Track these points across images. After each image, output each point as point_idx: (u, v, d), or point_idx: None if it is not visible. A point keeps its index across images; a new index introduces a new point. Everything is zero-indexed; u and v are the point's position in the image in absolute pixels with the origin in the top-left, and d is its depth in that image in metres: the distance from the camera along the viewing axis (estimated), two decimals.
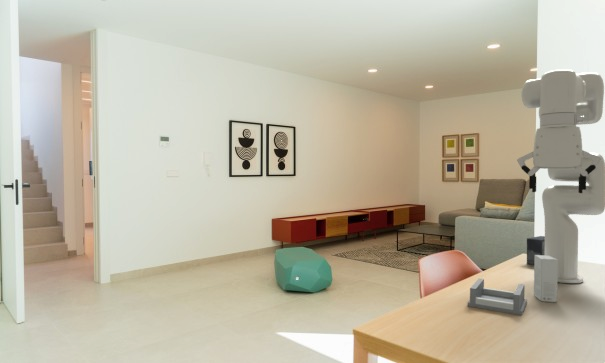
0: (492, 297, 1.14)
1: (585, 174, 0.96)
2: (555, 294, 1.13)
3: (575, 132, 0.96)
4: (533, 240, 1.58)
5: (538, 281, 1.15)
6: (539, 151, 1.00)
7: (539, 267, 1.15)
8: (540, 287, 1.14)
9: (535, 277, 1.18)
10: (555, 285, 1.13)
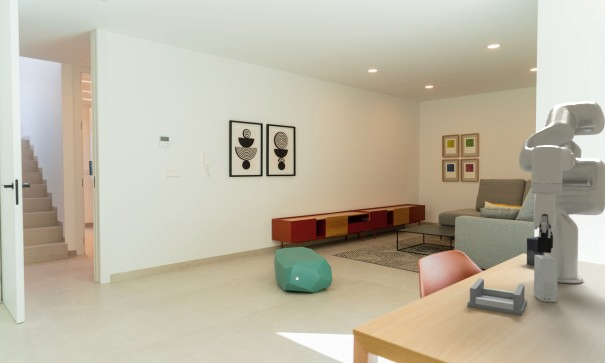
0: (492, 297, 1.14)
1: (551, 232, 1.20)
2: (555, 294, 1.13)
3: None
4: (533, 240, 1.58)
5: (538, 281, 1.15)
6: (554, 216, 1.11)
7: (539, 267, 1.15)
8: (540, 287, 1.14)
9: (535, 277, 1.18)
10: (555, 285, 1.13)
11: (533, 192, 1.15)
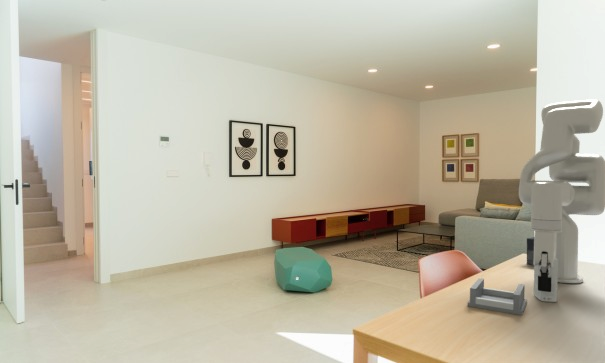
0: (492, 297, 1.14)
1: None
2: (555, 294, 1.13)
3: None
4: (533, 240, 1.58)
5: None
6: (554, 253, 1.12)
7: None
8: None
9: (535, 277, 1.18)
10: (555, 285, 1.13)
11: (533, 228, 1.16)
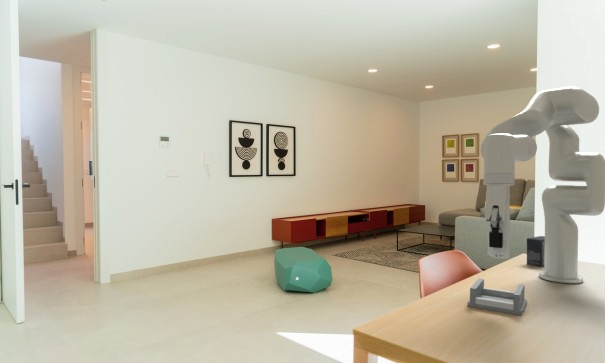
0: (492, 297, 1.14)
1: None
2: (507, 250, 1.08)
3: None
4: (533, 240, 1.58)
5: None
6: (505, 207, 1.06)
7: None
8: None
9: (488, 235, 1.13)
10: (507, 241, 1.08)
11: (485, 183, 1.10)
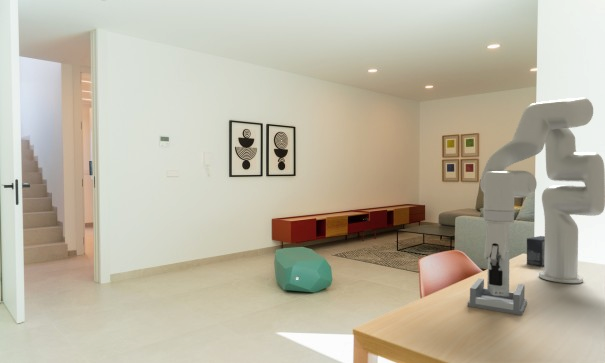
0: (492, 297, 1.14)
1: None
2: (507, 288, 1.08)
3: None
4: (533, 240, 1.58)
5: None
6: (505, 245, 1.07)
7: None
8: None
9: (488, 270, 1.13)
10: (507, 278, 1.08)
11: (485, 219, 1.11)
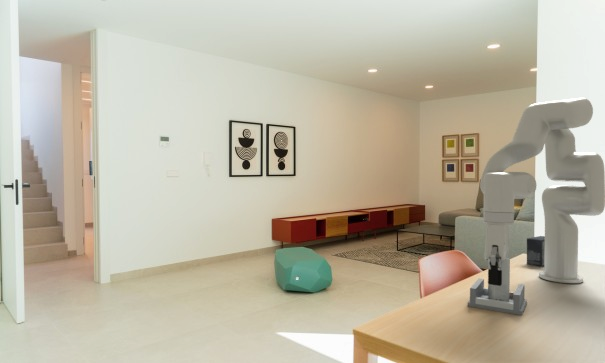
0: None
1: None
2: (507, 295, 1.08)
3: None
4: (533, 240, 1.58)
5: None
6: (505, 246, 1.07)
7: None
8: (492, 288, 1.09)
9: None
10: (507, 286, 1.08)
11: (484, 221, 1.11)
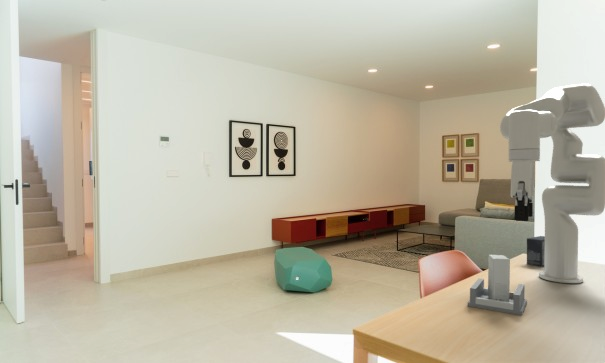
0: None
1: None
2: (507, 295, 1.08)
3: None
4: (533, 240, 1.58)
5: (491, 282, 1.11)
6: (531, 182, 1.07)
7: (491, 268, 1.11)
8: (492, 288, 1.09)
9: (489, 278, 1.13)
10: (507, 286, 1.08)
11: (510, 159, 1.11)
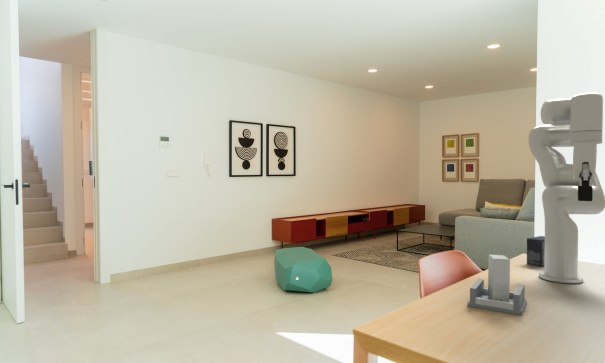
0: None
1: None
2: (507, 295, 1.08)
3: None
4: (533, 240, 1.58)
5: (491, 282, 1.11)
6: (595, 163, 1.09)
7: (491, 268, 1.11)
8: (492, 288, 1.09)
9: (489, 278, 1.13)
10: (507, 286, 1.08)
11: (572, 141, 1.14)
